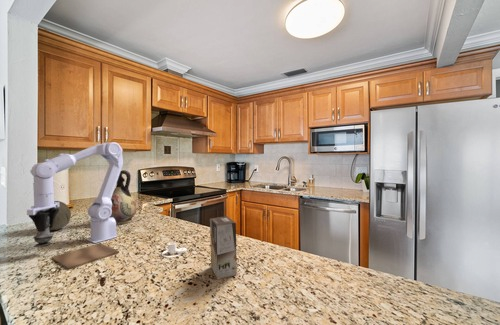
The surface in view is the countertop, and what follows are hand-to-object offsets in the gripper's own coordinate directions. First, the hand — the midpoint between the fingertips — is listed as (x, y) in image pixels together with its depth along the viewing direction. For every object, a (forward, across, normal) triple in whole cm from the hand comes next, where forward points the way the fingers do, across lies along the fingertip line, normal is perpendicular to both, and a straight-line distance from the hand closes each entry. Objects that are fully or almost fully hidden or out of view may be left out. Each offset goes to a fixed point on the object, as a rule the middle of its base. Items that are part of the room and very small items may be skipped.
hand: (45, 229), depth 88 cm
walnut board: (+9, +5, +16) cm, 19 cm away
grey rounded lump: (+10, -34, -17) cm, 39 cm away
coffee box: (+10, +28, +66) cm, 72 cm away
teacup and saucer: (+10, +12, +49) cm, 51 cm away
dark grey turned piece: (+6, 0, -1) cm, 6 cm away
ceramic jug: (+10, -42, +13) cm, 45 cm away
